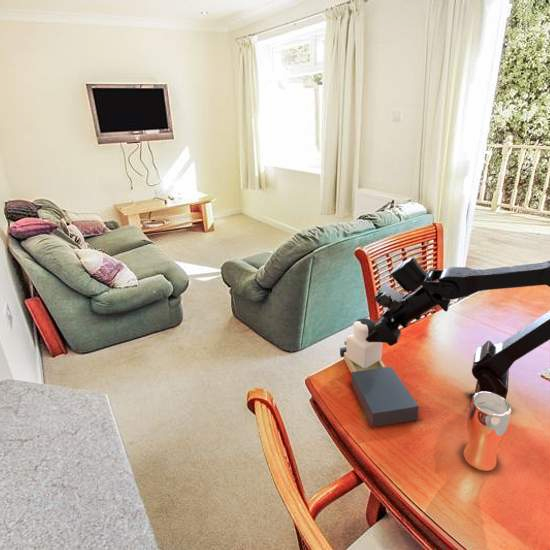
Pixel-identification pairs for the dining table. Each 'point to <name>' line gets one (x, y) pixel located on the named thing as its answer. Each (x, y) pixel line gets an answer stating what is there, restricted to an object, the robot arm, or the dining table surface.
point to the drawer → (355, 367)
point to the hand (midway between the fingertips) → (372, 331)
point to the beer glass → (486, 429)
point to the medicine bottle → (363, 344)
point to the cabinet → (384, 396)
